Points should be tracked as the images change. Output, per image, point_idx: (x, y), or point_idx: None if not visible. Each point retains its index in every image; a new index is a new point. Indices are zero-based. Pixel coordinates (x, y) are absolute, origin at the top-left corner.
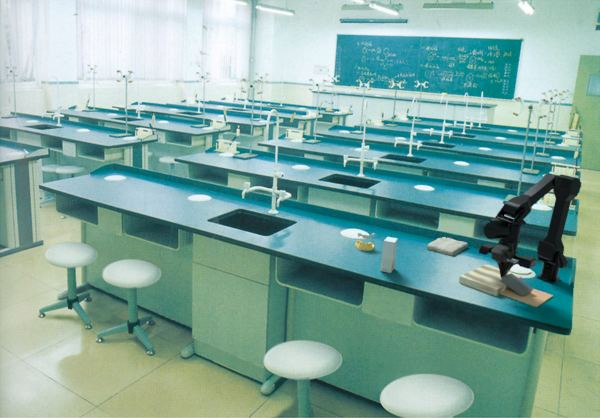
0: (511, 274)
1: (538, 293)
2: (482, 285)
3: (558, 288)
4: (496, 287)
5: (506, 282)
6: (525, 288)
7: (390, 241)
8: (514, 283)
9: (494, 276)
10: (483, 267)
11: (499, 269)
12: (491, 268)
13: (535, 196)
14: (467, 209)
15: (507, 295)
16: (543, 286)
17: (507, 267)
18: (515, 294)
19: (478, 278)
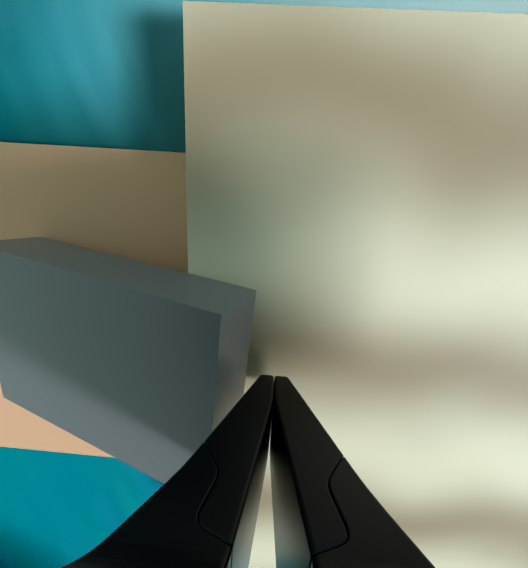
0: None
1: None
2: (398, 25)
3: (31, 558)
4: (220, 72)
5: (177, 281)
6: (10, 323)
7: None
8: (78, 294)
9: (366, 397)
10: (523, 524)
11: (334, 448)
12: (449, 547)
13: None
14: None
15: (131, 150)
16: (91, 533)
17: (151, 524)
18: (103, 242)
19: (510, 186)
